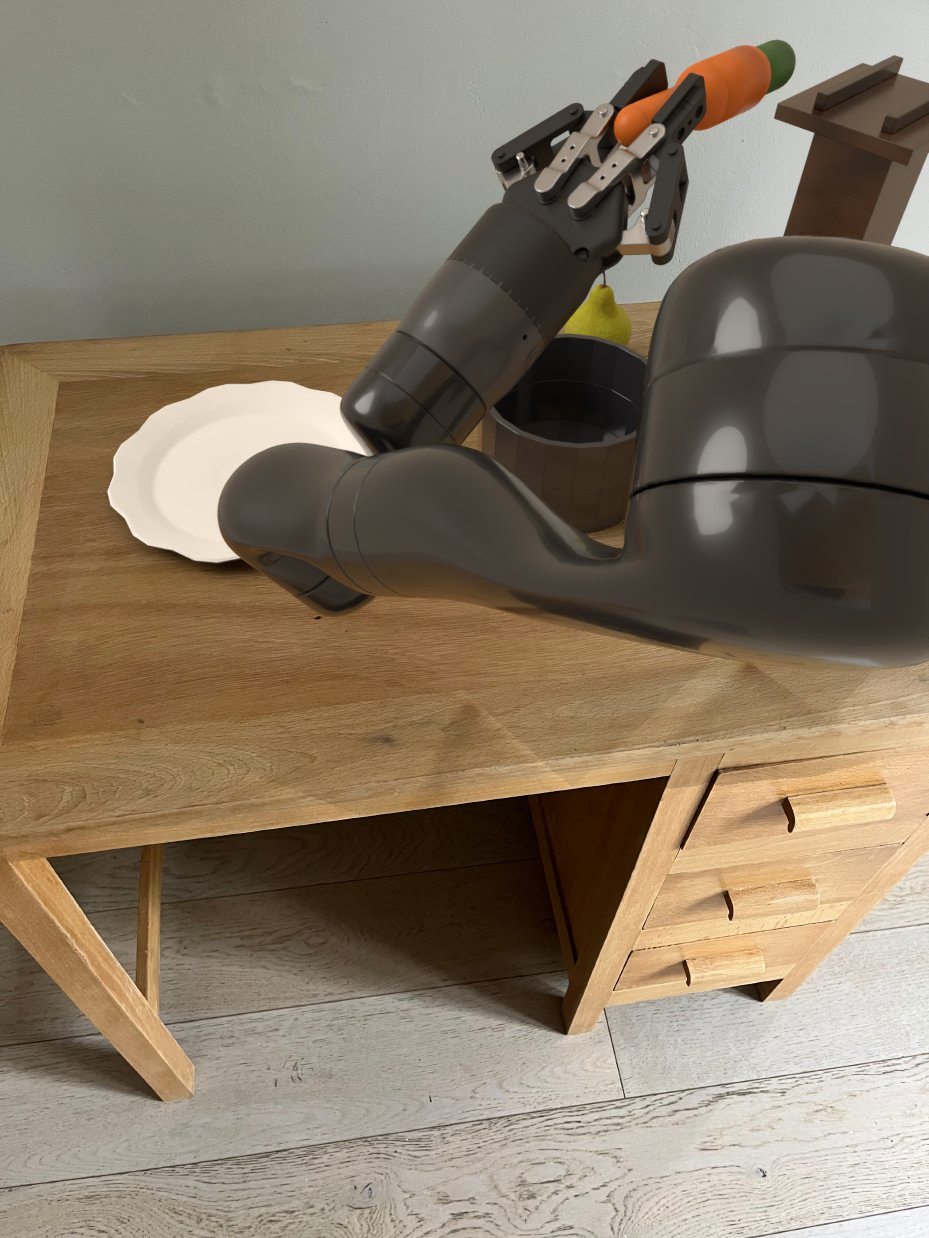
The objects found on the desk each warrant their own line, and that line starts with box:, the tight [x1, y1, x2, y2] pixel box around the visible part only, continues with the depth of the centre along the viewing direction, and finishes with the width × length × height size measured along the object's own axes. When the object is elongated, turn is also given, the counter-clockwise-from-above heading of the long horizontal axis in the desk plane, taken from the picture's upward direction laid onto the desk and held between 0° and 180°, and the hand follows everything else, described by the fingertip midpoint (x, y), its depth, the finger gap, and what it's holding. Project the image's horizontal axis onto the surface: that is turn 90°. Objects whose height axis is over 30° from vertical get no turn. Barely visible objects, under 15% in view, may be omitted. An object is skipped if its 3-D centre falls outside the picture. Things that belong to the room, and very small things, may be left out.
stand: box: [773, 54, 929, 246], centre depth 70 cm, size 11×11×33 cm
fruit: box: [563, 271, 633, 347], centre depth 89 cm, size 7×7×12 cm
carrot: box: [614, 39, 797, 149], centre depth 52 cm, size 4×16×4 cm, turn 134°
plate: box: [106, 380, 367, 565], centre depth 81 cm, size 25×25×2 cm
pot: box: [476, 333, 647, 534], centre depth 78 cm, size 16×16×10 cm
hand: (679, 80), depth 49 cm, fingers closed on carrot, 2 cm apart
